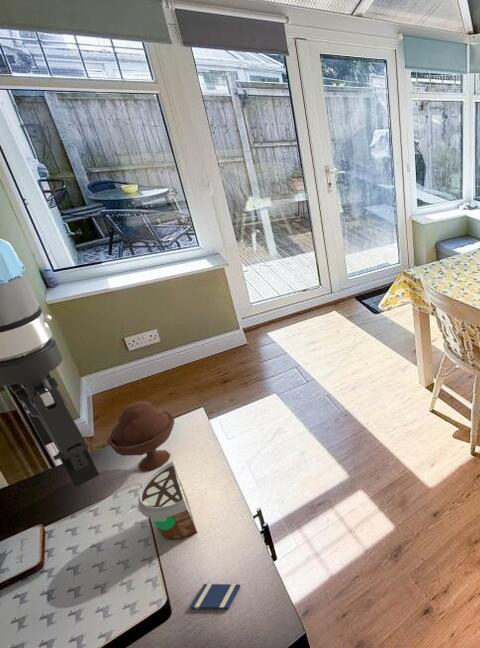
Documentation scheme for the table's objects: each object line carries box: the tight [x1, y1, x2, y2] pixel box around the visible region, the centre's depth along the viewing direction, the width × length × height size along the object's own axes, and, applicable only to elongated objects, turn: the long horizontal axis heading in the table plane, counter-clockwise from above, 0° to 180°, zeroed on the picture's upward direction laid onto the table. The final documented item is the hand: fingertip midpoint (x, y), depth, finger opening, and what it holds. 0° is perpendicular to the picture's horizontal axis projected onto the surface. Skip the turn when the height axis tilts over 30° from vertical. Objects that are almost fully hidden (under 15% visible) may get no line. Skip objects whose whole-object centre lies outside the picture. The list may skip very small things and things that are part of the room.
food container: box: [137, 461, 198, 541], centre depth 77 cm, size 12×6×10 cm, turn 45°
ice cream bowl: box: [106, 400, 175, 472], centre depth 89 cm, size 11×11×15 cm
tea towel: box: [190, 583, 241, 610], centre depth 68 cm, size 6×3×1 cm, turn 91°
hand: (70, 459), depth 66 cm, fingers open, 13 cm apart
